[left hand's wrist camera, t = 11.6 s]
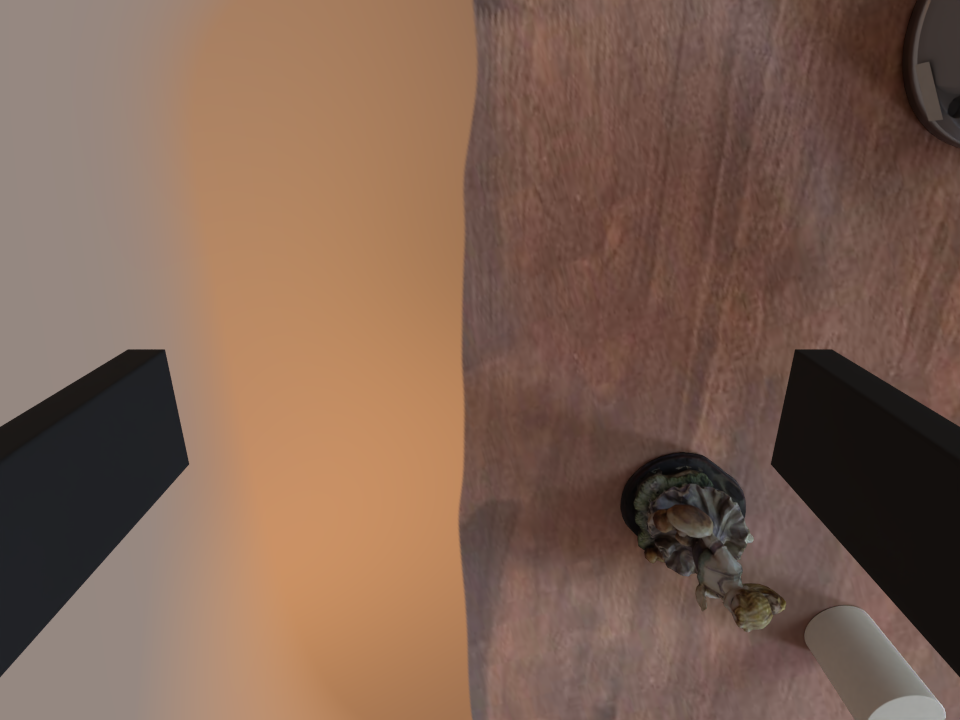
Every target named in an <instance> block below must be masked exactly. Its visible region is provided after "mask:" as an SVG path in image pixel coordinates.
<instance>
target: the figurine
mask: <svg viewBox="0 0 960 720" xmlns="http://www.w3.org/2000/svg"><path fill="white" fill-rule="evenodd" d="M621 512H622V517H623V519H624V521H625V523H626V524H627V526H628V527H629V528H630V529H631V530H632V531H633V532H634V533H635V534H636V535H637V536H638V545H639V547H640V548H642V549H644V550H645V551H644V553H645V558H646V559H647V560H648V561H649V562H651V563H655V562H656V560H658V561H661V562H664V563H666V565H667V567H668V568H670V569H672V570H674V571H675V572H677V573H678V574H680V575H683V576H690V574H693V573H696V574H697V578H698V581H699V585H698V586H697V588H696V593H695V594H696V599H697V602H698V604H699V606H700V607H701V610H702V611H704V610H705V609H706V608H707V603H706V596H707V597H710V598H715V599H718V598H720V599H722V600H723V604H724V606H725V607H726V608H727V609H728V610H729V611H730V612H731V613H732V615H733V618H734V620H735V622H736V624H737V625H738V627H740V628H743V629H744V631H746V632H749V631H751V630H755V629H763V628H765V627H766V626H767V625H768V624H769V623H770V621H771V619H772V617H773V615H774V614H778V613H780V612H781V611H783V610H784V609H785V606H786V601H785V600H784V599H783V598H782V597H781V596H780V595H778V594H777V593H776V592H774V591H773V590H772V589H770V588H768V587H766V586H763V585H760V584H752V583H750V584H742V581H741V574H742V571H743V570H742V566H741V565H740V563H739V562H737V560H740V557H741V555H742V553H743V551H744V549H745V548H746V546H747V543H751V542H753V536H752V535H751V534H750V531H749V529H748V527H747V526H746V524H745V520H744V518H745V513H746V503H745V497H744V494H743V491H742V489H741V488H740V486H739V485H738V483H737V481H736V480H735V479H734V478H732V477H731V476H730V475H728V474H727V473H725V472H724V471H723V470H722V469H721V468H719V467H718V466H717V465H716V464H714V463H713V462H712V461H710V460H709V459H708V458H706V457H704V456H702V455H699V454H694V453H685V452H682V453H675V454H669V455H666V456H662V457H659V458H657V459H655V460H653V461H651V462H649V463H647V464H646V465H644V466H643V467H642V468H640V469H639V470H638V471H637V472H636V473H635V474H634V475H633V476H632V477H631V478H630V479H629V480H628V482H627V484H626V485H625V488H624V491H623V494H622V499H621Z"/></svg>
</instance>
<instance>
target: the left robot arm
mask: <svg viewBox="0 0 960 720" xmlns="http://www.w3.org/2000/svg"><path fill="white" fill-rule="evenodd" d="M903 79H904V85H905V90H906V94H907V97H908V100H909V103H910V105H911V107H912V109H913V111H914V113H915V115H916V116H917V118H918V119H919V121H920V122H921V123H922V124H923V126H924V127H925V128H926V129H927V130H928V131H929V132H930V133H931V134H933V135H934V136H936V137H937V138H938V139H940V140H942V141H944V142H945V143H947V144H950V145H952V146H955V147H958V148H960V0H917V2H916V5H915V7H914V9H913V12H912V15H911V18H910V21H909V24H908V28H907V32H906V36H905V42H904V48H903ZM188 465H189V461H188V457H187V452H186V447H185V442H184V438H183V433H182V428H181V424H180V419H179V414H178V409H177V405H176V400H175V395H174V390H173V386H172V381H171V376H170V372H169V367H168V362H167V357H166V353H165V350H126V351H125V352H123V353H122V354H120V355H118V356H117V357H115V358H113V359H112V360H110V361H108V362H107V363H105V364H103V365H102V366H100V367H98V368H97V369H95V370H94V371H92V372H90V373H89V374H87V375H85V376H84V377H82V378H80V379H79V380H77V381H75V382H74V383H72V384H70V385H69V386H67V387H65V388H64V389H62V390H60V391H59V392H57V393H56V394H54V395H52V396H51V397H49V398H47V399H46V400H44V401H42V402H41V403H39V404H37V405H36V406H34V407H32V408H31V409H29V410H27V411H26V412H24V413H22V414H21V415H19V416H17V417H16V418H14V419H13V420H11V421H9V422H8V423H6V424H4V425H3V426H1V427H0V677H1V676H2V675H3V673H4V672H5V671H6V670H7V669H8V668H9V667H10V666H11V664H12V663H13V662H14V661H15V660H16V659H17V658H18V657H19V655H20V654H21V653H22V652H23V651H24V650H25V649H26V647H27V646H28V645H29V644H30V643H31V642H32V641H33V640H34V638H35V637H36V636H37V635H38V634H39V633H40V632H41V631H42V629H43V628H44V627H45V626H46V625H47V624H48V623H49V622H50V620H51V619H52V618H53V617H54V616H55V615H56V614H57V613H58V611H59V610H60V609H61V608H62V607H63V606H64V605H65V604H66V602H67V601H68V600H69V599H70V598H71V597H72V596H73V595H74V593H75V592H76V591H77V590H78V589H79V588H80V587H81V585H82V584H83V583H84V582H85V581H86V580H87V579H88V578H89V577H90V575H91V574H92V573H93V572H94V571H95V570H96V569H97V567H98V566H99V565H100V564H101V563H102V562H103V561H104V560H105V558H106V557H107V556H108V555H109V554H110V553H111V552H112V551H113V549H114V548H115V547H116V546H117V545H118V544H119V543H120V542H121V540H122V539H123V538H124V537H125V536H126V535H127V534H128V533H129V531H130V530H131V529H132V528H133V527H134V526H135V525H136V523H137V522H138V521H139V520H140V519H141V518H142V517H143V516H144V514H145V513H146V512H147V511H148V510H149V509H150V508H151V507H152V506H153V504H154V503H155V502H156V501H157V500H158V499H159V498H160V497H161V495H162V494H163V493H164V492H165V491H166V490H167V489H168V487H169V486H170V485H171V484H172V483H173V482H174V481H175V480H176V478H177V477H178V476H179V475H180V474H181V473H182V472H183V471H184V469H185V468H186V467H187V466H188ZM771 465H772V466H773V467H774V468H775V469H776V471H777V472H778V473H779V474H780V475H781V476H782V477H783V478H784V480H785V481H786V482H787V483H788V484H789V485H790V486H791V487H792V489H793V490H794V491H795V492H796V493H797V494H798V495H799V497H800V498H801V499H802V500H803V501H804V502H805V503H806V504H807V506H808V507H809V508H810V509H811V510H812V511H813V512H814V513H815V515H816V516H817V517H818V518H819V519H820V520H821V521H822V522H823V524H824V525H825V526H826V527H827V528H828V529H829V530H830V531H831V533H832V534H833V535H834V536H835V537H836V538H837V539H838V540H839V542H840V543H841V544H842V545H843V546H844V547H845V548H846V549H847V551H848V552H849V553H850V554H851V555H852V556H853V557H854V558H855V560H856V561H857V562H858V563H859V564H860V565H861V566H862V567H863V569H864V570H865V571H866V572H867V573H868V574H869V575H870V577H871V578H872V579H873V580H874V581H875V582H876V583H877V584H878V586H879V587H880V588H881V589H882V590H883V591H884V592H885V593H886V595H887V596H888V597H889V598H890V599H891V600H892V601H893V602H894V604H895V605H896V606H897V607H898V608H899V609H900V610H901V611H902V613H903V614H904V615H905V616H906V617H907V618H908V619H909V620H910V622H911V623H912V624H913V625H914V626H915V627H916V628H917V629H918V631H919V632H920V633H921V634H922V635H923V636H924V637H925V638H926V640H927V641H928V642H929V643H930V644H931V645H932V646H933V648H934V649H935V650H936V651H937V652H938V653H939V654H940V655H941V657H942V658H943V659H944V660H945V661H946V662H947V663H948V664H949V666H950V667H951V668H952V669H953V670H954V671H955V672H956V673H957V675H958V676H959V677H960V427H959V426H957V425H956V424H954V423H952V422H951V421H949V420H947V419H946V418H944V417H943V416H941V415H939V414H938V413H936V412H934V411H933V410H931V409H929V408H928V407H926V406H924V405H923V404H921V403H919V402H918V401H916V400H914V399H913V398H911V397H909V396H908V395H906V394H905V393H903V392H901V391H900V390H898V389H896V388H895V387H893V386H891V385H890V384H888V383H886V382H885V381H883V380H881V379H880V378H878V377H876V376H875V375H873V374H871V373H870V372H868V371H867V370H865V369H863V368H862V367H860V366H858V365H857V364H855V363H853V362H852V361H850V360H848V359H847V358H845V357H843V356H842V355H840V354H838V353H837V352H835V351H834V350H795V353H794V357H793V362H792V367H791V371H790V376H789V381H788V386H787V390H786V395H785V400H784V405H783V409H782V414H781V419H780V423H779V428H778V433H777V438H776V442H775V447H774V452H773V457H772V461H771Z"/></svg>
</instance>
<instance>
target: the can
mask: <svg viewBox="0 0 960 720" xmlns="http://www.w3.org/2000/svg"><path fill="white" fill-rule="evenodd" d="M804 638H805V642H806V645H807V646H808V648H809V649H810V651H811V652H812V654H813V656H814V657H815V659H816V660H817V662H818V663H819V665H820V666H821V668H822V670H823V671H824V673H825V674H826V676H827V677H828V679H829V680H830V682H831V684H832V685H833V687H834V688H835V690H836V691H837V693H838V694H839V696H840V698H841V699H842V701H843V702H844V704H845V705H846V707H847V708H848V710H849V712H850V713H851V715H852V716H853V718H854V719H855V720H945V717H946V715H945V710H944V708H943V706H942V705H941V703H940V702H939V701H938V700H937V698H936V697H935V696H934V695H933V694H932V692H931V691H930V690H929V689H928V687H927V686H926V685H925V684H924V682H923V681H922V680H921V679H920V678H919V676H918V675H917V674H916V673H915V671H914V670H913V669H912V668H911V666H910V665H909V664H908V663H907V662H906V660H905V659H904V658H903V657H902V655H901V654H900V653H899V652H898V650H897V649H896V648H895V647H894V646H893V644H892V643H891V642H890V641H889V639H888V638H887V637H886V636H885V634H884V633H883V632H882V631H881V630H880V628H879V627H878V626H877V625H876V623H875V622H874V621H873V620H872V618H871V617H870V616H869V615H868V614H867V613H866V612H865V611H864V610H862V609H860V608H858V607H854V606H836V607H832V608H829V609H827V610H825V611H822V612H821V613H819V614H818V615H816V616H815V617H814V618H813V619H812V620H811V621H810V622H809V624H808V625H807V627H806V630H805V634H804Z"/></svg>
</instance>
